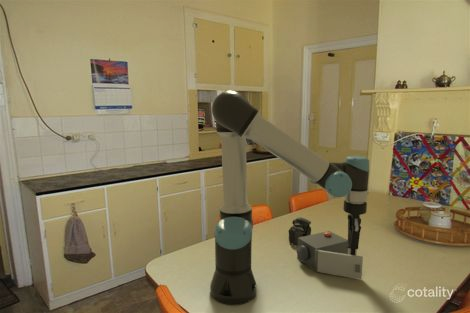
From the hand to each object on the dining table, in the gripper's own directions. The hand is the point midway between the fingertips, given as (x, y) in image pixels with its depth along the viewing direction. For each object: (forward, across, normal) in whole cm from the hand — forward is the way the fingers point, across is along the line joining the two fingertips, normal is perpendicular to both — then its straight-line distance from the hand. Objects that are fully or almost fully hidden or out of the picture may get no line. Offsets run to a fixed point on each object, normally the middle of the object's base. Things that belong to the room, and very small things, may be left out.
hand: (351, 264), depth 115 cm
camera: (+5, +28, +18) cm, 33 cm away
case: (+4, +9, +10) cm, 14 cm away
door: (+3, -2, +5) cm, 7 cm away
